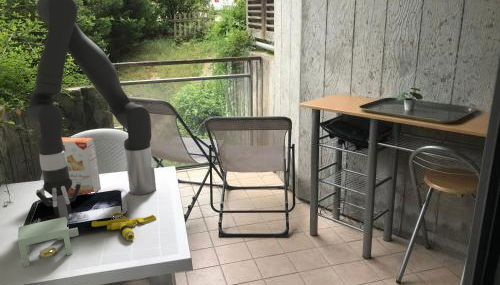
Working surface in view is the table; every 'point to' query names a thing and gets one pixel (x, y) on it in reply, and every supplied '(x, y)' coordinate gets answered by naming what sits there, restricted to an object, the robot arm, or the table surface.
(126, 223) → the sprinkler
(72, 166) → the cracker box
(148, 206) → the table surface
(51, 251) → the token
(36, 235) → the footstool
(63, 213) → the block
